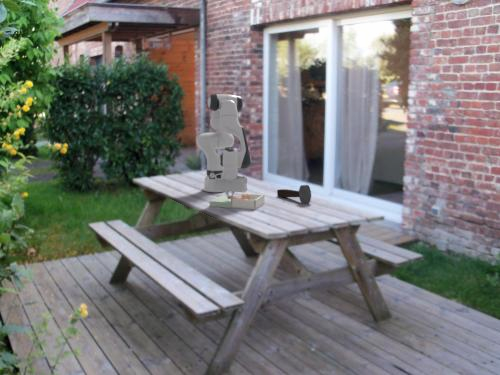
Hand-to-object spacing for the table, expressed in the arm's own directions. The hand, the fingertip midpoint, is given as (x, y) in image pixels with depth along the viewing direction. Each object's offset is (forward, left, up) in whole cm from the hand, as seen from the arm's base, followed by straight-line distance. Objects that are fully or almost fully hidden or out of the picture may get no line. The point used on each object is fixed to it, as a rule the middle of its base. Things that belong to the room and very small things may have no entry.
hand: (230, 198), depth 342 cm
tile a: (-8, +6, -1) cm, 10 cm away
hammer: (-31, +30, -5) cm, 44 cm away
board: (-4, -4, -4) cm, 7 cm away
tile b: (0, +4, -1) cm, 4 cm away
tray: (-4, +10, -4) cm, 12 cm away
